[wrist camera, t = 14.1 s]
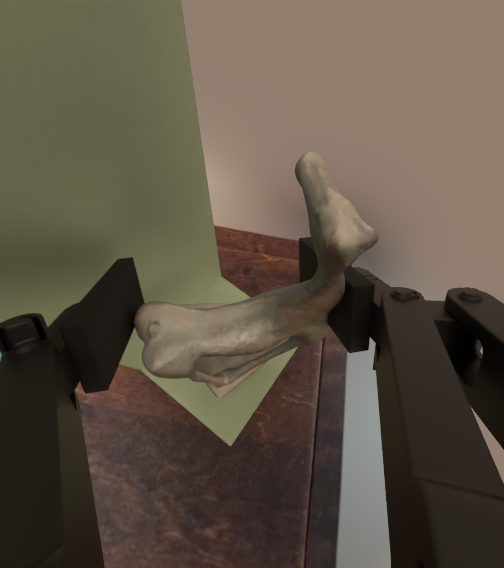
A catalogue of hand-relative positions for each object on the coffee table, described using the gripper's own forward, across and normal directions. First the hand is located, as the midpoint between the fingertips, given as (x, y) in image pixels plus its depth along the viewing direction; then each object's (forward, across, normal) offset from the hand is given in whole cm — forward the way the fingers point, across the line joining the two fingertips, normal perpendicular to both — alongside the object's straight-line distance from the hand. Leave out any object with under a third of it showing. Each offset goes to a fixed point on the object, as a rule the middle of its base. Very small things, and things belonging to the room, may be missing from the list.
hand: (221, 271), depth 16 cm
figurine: (+2, 0, -6) cm, 7 cm away
